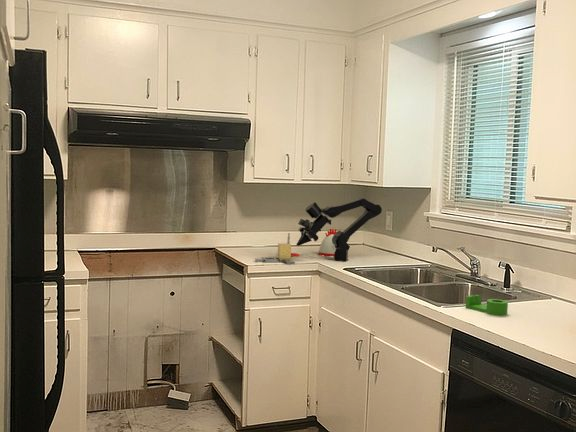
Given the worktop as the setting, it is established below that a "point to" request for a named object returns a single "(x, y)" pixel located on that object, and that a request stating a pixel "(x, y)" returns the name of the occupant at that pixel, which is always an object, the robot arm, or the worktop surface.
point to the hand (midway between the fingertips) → (297, 245)
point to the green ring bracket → (492, 305)
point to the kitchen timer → (328, 244)
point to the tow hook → (288, 243)
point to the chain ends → (274, 260)
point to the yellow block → (284, 251)
